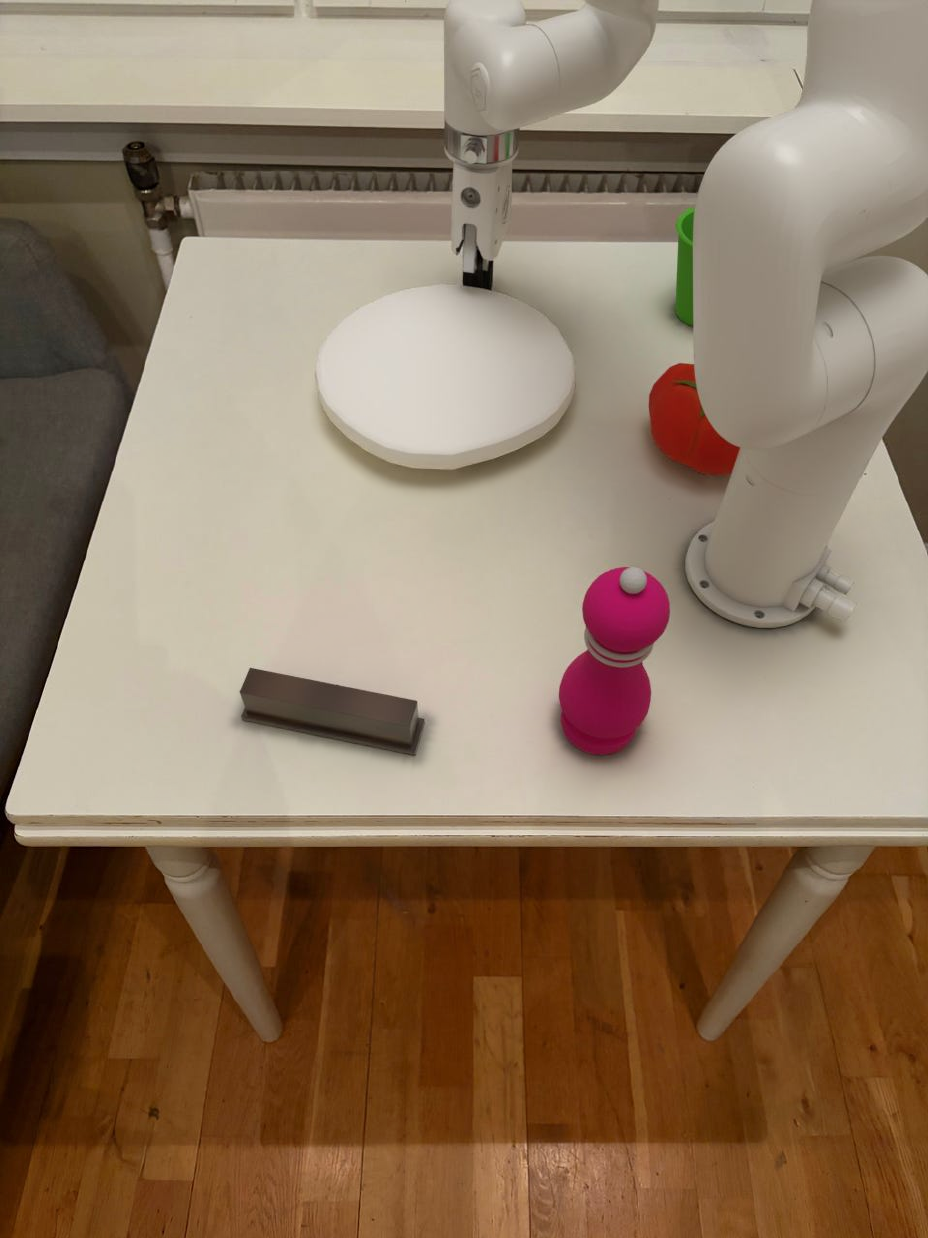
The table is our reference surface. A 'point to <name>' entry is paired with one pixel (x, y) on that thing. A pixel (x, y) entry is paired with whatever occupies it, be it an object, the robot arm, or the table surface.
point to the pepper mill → (613, 660)
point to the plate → (444, 376)
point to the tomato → (687, 424)
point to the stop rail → (331, 711)
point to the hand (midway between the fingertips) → (477, 292)
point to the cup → (685, 267)
